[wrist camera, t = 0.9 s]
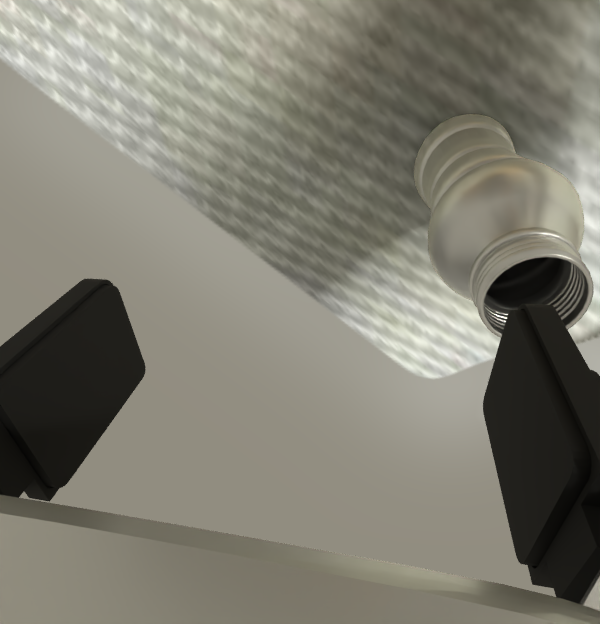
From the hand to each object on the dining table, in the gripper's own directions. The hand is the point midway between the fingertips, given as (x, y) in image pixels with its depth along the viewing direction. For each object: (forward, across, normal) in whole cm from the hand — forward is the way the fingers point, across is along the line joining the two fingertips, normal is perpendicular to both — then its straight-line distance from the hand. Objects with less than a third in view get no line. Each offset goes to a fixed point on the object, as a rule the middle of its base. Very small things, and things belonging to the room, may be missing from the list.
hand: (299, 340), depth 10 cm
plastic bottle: (+26, -7, +2) cm, 27 cm away
